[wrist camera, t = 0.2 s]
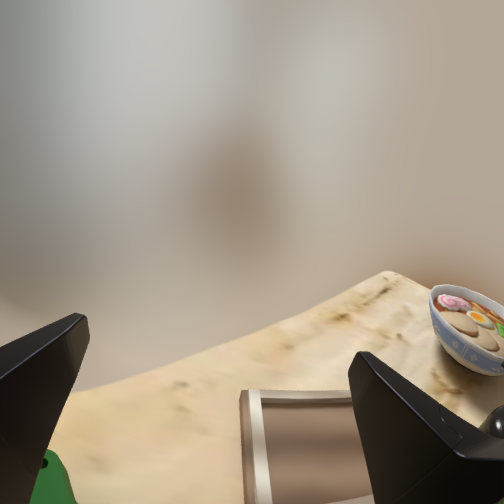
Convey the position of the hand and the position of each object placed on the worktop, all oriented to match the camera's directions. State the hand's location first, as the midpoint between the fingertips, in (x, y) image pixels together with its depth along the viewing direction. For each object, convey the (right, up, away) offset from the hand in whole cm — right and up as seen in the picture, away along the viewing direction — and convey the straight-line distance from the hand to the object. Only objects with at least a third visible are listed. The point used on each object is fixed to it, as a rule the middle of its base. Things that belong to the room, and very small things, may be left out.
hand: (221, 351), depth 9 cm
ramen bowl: (+36, -14, +27) cm, 47 cm away
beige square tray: (+7, -15, +12) cm, 20 cm away
